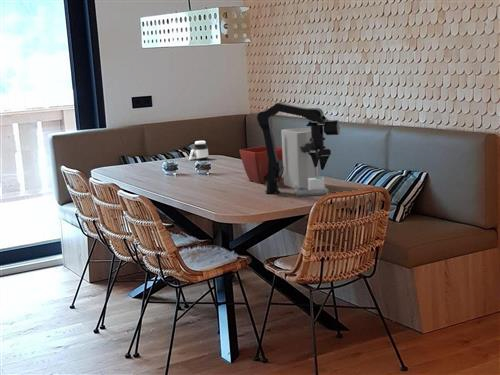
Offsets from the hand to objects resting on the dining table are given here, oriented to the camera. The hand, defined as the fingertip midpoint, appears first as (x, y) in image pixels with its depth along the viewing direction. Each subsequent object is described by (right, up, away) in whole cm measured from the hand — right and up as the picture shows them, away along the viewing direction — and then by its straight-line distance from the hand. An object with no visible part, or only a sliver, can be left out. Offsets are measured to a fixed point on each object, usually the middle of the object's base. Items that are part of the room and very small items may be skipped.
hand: (318, 168), depth 364 cm
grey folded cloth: (-3, -12, +2) cm, 12 cm away
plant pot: (-25, -6, +43) cm, 50 cm away
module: (-1, -11, +2) cm, 11 cm away
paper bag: (-5, -8, +23) cm, 25 cm away
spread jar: (-66, +9, +131) cm, 146 cm away
